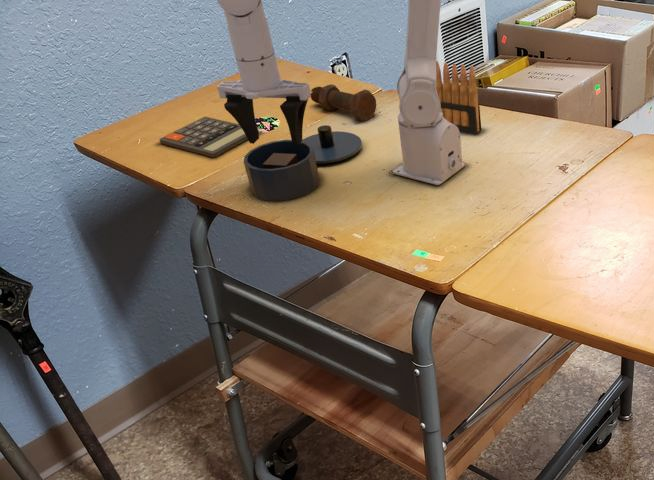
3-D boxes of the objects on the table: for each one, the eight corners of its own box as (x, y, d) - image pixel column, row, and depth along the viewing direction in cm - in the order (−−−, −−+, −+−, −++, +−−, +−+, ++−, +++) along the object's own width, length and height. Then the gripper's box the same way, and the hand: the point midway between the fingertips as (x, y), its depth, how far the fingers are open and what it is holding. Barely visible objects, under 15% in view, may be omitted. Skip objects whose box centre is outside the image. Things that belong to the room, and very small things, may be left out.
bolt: (322, 111, 146) (372, 124, 138) (303, 106, 142) (354, 119, 134) (327, 82, 145) (379, 93, 137) (308, 76, 141) (360, 87, 133)
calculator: (204, 115, 141) (258, 128, 135) (205, 120, 142) (259, 132, 135) (158, 138, 134) (212, 152, 127) (159, 143, 135) (214, 157, 128)
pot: (333, 177, 119) (327, 147, 116) (286, 207, 112) (278, 176, 109) (285, 164, 124) (278, 134, 121) (237, 191, 117) (229, 161, 114)
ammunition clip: (481, 130, 129) (479, 64, 122) (477, 134, 128) (474, 67, 121) (431, 122, 134) (426, 57, 126) (426, 126, 133) (420, 61, 125)
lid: (376, 144, 128) (372, 121, 125) (331, 172, 121) (326, 148, 118) (325, 132, 134) (321, 109, 131) (280, 158, 126) (274, 134, 123)
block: (301, 177, 119) (296, 153, 116) (291, 189, 116) (286, 165, 113) (279, 176, 120) (273, 152, 117) (268, 187, 117) (262, 164, 114)
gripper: (198, 64, 103) (223, 150, 112) (288, 65, 100) (308, 154, 109) (221, 47, 109) (244, 132, 117) (308, 48, 105) (325, 135, 114)
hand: (276, 141), depth 113 cm, fingers open, 7 cm apart
